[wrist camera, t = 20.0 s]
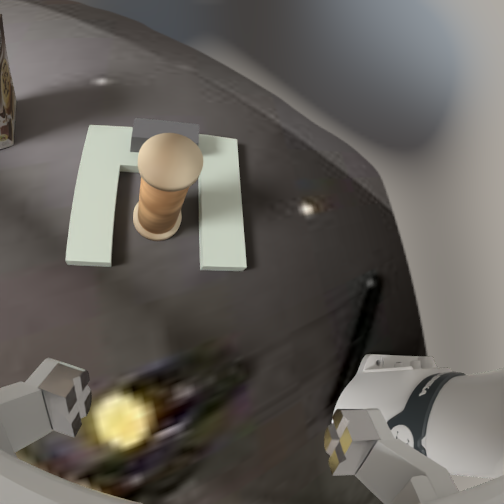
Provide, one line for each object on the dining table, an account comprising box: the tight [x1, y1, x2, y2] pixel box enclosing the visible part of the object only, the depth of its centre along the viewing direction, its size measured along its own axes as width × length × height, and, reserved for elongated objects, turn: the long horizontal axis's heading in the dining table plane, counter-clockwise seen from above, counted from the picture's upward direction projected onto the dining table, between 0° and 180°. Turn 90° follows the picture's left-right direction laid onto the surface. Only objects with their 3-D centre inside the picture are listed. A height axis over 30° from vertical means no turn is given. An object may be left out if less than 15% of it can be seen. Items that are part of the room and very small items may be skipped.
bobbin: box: [133, 133, 203, 241], centre depth 31 cm, size 6×6×12 cm
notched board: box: [65, 118, 247, 271], centre depth 35 cm, size 20×18×4 cm
